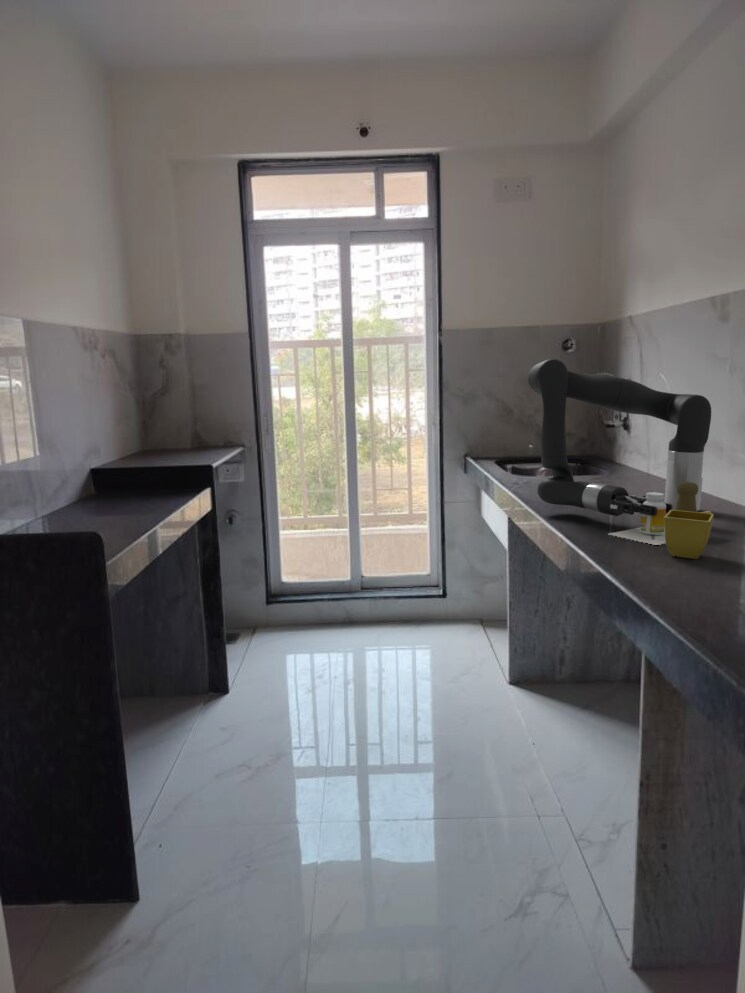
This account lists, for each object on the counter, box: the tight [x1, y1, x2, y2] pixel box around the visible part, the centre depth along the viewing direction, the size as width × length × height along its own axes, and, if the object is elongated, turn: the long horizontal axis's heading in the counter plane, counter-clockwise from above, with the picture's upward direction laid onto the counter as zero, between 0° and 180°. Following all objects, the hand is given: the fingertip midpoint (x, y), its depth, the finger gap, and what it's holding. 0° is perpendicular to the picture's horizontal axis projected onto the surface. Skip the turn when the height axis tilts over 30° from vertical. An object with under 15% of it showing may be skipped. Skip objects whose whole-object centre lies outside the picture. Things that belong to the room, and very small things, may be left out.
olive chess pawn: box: [675, 482, 698, 512], centre depth 172 cm, size 6×6×11 cm
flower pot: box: [664, 510, 715, 560], centre depth 141 cm, size 9×9×9 cm
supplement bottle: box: [639, 491, 667, 535], centre depth 159 cm, size 5×5×10 cm
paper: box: [607, 527, 666, 546], centre depth 160 cm, size 18×13×1 cm
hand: (663, 510), depth 157 cm, fingers closed on supplement bottle, 5 cm apart
